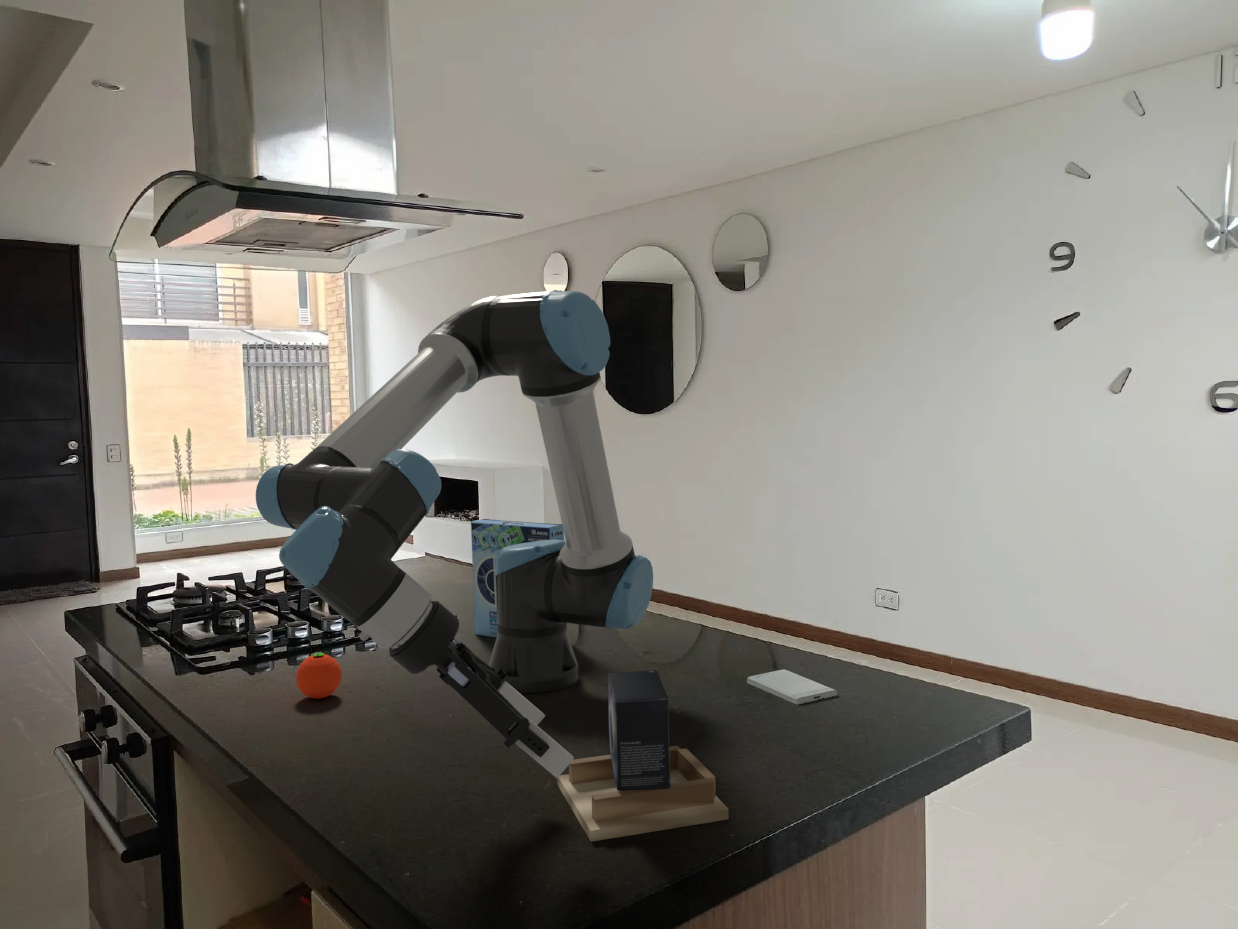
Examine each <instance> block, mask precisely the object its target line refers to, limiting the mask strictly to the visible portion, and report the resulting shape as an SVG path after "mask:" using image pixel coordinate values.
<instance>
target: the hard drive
mask: <svg viewBox="0 0 1238 929" xmlns="http://www.w3.org/2000/svg"><path fill="white" fill-rule="evenodd" d="M746 684H749V685H751V686H753V687H755V688H757V689H760V690H761V691H764V692H767V693H768V694H771V695H774V696H776V697H778V698H780V699H782V698H783V699H782V700H785V701H787V702H790V703H792V704H794V705H801V704H806V703H811V702H815V701H818V699H820V700H823V699H822V698H824V699H828V698H832V696H833V697H836V695H837V696H838V691H837V690H836V689H834V688H832V687H828V686H826V685H823V684H822V683H819V682H816V681H814V680H812V679H810V678H806V677H804V676H801V675H800V674H797V673H795V672H792V671H789V670H787V669H778V670H774V671H770V672H764V673H758V674H756V675H751V676H748V677H747V678H746ZM805 702H806V703H805Z"/></svg>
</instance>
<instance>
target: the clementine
mask: <svg viewBox="0 0 1238 929" xmlns="http://www.w3.org/2000/svg"><path fill="white" fill-rule="evenodd" d="M295 675H296V676H295V679H296V686H297V687H298V689H299V691H300V692H301V693H302V694H303V695H304V696H306V697H308V698H310V699H318V700H319V699H323V698H327V697H329V696H331V695H332V694H333V693H335V692H336V690H337V689H338V688H339V687H340V684H341V681H342V676H343V674H342V667H341V666H340V664H339V662H338V661H337V660H336V659H335V657H332V656H331V655H329V654H326V653H324V652H318V653H316V652H315V653H314V654H312V655H310V656H308V657H307V658H305V659H303V661H302V662H301V663H300V664H299V666H298V668H297V670H296V674H295Z"/></svg>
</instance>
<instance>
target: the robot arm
mask: <svg viewBox="0 0 1238 929" xmlns="http://www.w3.org/2000/svg"><path fill="white" fill-rule="evenodd" d="M605 317H606V316H605V315H604V313H603V311H602V309H601V307H600V306H599V305H598V304H597V302H596V301H595V300H594V299H592V298H591V297H590V296H589V295H588V294H586V293H584V292H581V291H576V290H571V291H570V290H568V291H565V290H564V291H563V290H557V289H555V290H546V291H536V292H524V293H517V294H516V293H515V294H498V295H497V294H496V295H491V296H488V297H484V298H483V297H482V298H481V299H479V300H476V301H474V302H471V303H470V304H468V305H466V306H465V307H463V308H461V309H459V310H458V311H457V312H455V313H453V314H452V315H450V316H449V317H447V318H446V319H445V320H443V321H442V322H441V323H440V324H438V325H437V326H436V327H435V328H433V330H431V331H430V332H429V333H428V334H427V335H425V337H423V339H422V340H421V341H420V342H419V345H418V348H417V354H416V355H415V356H413V357H412V358H411V359H410V360H409V361H408V362H407V363H406V364H405V365H404V366H402V367H401V369H400V370H399V371H398V372H396V373H395V374H394V375H393V376H392V377H391V378H390V379H389V380H388V381H387V382H386V383H385V384H383V385H382V386H381V387H380V388H379V389H378V390H377V391H376V392H374V393H373V394H372V395H371V397H369V398H368V399H367V400H366V401H365V402H363V404H362V405H361V406H359V407H358V408H357V409H356V410H355V411H354V412H353V413H352V414H351V415H349V417H348V418H347V419H346V420H344V421H343V422H342V423H341V424H340V425H339V426H338V427H336V428H335V429H334V431H332V432H331V433H330V434H328V436H327V437H326V438H324V440H322V441H321V442H320V443H319V444H318V445H317V446H316V447H315V448H314V449H313V450H311V451H310V452H309V453H308V454H307V455H306V456H304V457H303V458H302V459H301V460H300V461H299V462H298V463H296V464H293V463H290V462H289V463H284V464H281V465H280V464H278V465H275V466H272V467H270V468H268V469H267V470H266V471H264V473H263V474H262V475H261V477H260V479H259V480H258V482H257V485H256V489H255V503H256V504H255V505H256V507H257V510H258V511H259V514H260V515H261V517H262V518H263V519H264V520H265V521H267V523H269V524H270V525H274V526H276V527H281V528H286V529H291V530H295V531H294V532H293V533H292V534H291V535H290V536H289V537H288V538H287V540H286V541H285V542H284V543H283V544H282V546H281V548H280V549H279V554H278V559H279V561H280V563H281V564H282V565H283V566H284V567H285V569H287V570H288V572H289V573H290V574H291V575H293V577H295V579H297V580H298V581H299V583H301V584H302V586H303V587H304V588H305V589H306V590H308V591H309V590H310V591H311V592H312V593H314V594H315V595H316V596H317V597H319V598H320V599H321V600H322V601H323V602H325V603H326V604H327V605H328V606H330V607H331V608H332V609H333V610H335V611H336V612H337V613H338V614H339V615H341V616H342V617H343V618H344V619H345V620H347V621H348V622H349V623H350V624H351V625H353V626H354V627H355V628H357V629H358V630H359V631H361V632H360V634H359V635H358V637H359V638H360V640H361V641H366V640H367V641H368V639H369V638H371V640H372V642H373V643H375V644H376V645H377V646H378V647H379V648H381V649H382V650H388V649H389V650H388V652H389V657H391V658H392V659H393V660H394V661H395V662H397V664H399V665H400V666H401V667H403V668H404V669H405V670H406V671H407V672H408V673H410V674H411V675H417V674H420V673H423V672H425V671H426V670H427V669H428V667H431V666H436V667H437V668H436V671H437V673H439V676H438V677H439V678H440V679H441V680H442V681H443V682H444V683H445V684H446V685H448V686H449V687H451V688H452V689H453V690H454V691H455V692H457V693H458V694H459V695H460V696H461V697H462V698H463V699H464V700H465V701H466V702H467V703H468V704H469V705H470V706H471V707H472V708H474V709H475V710H476V712H478V713H479V714H480V715H481V716H482V717H483V718H484V719H485V720H486V721H487V722H488V723H489V724H490V725H491V726H492V727H493V728H494V729H495V730H496V731H498V732H499V734H501V736H503V737H504V738H505V741H504V742H503V744H504V745H505V746H506V747H507V748H508V749H510V748H511V747H512V746H513V745H516V746H518V747H519V748H520V749H521V750H522V751H524V752H525V753H526V754H527V755H528V756H530V757H531V758H532V759H533V760H534V761H535V762H537V764H539V765H540V766H541V767H543V768H544V769H545V770H547V772H548V773H550V774H551V775H552V776H553V777H555V779H558V777H559V776H560V775H562V773H563V772H564V771H565V770H566V769H567V768H568V767H569V764H570V763H571V762H572V761H573V760H575V757H574V756H573V754H571V753H570V752H569V751H567V750H566V748H564V747H563V746H562V745H561V744H559V743H558V742H557V741H556V740H555V739H553V738H552V737H551V736H550V735H549V734H548V733H547V732H545V731H544V730H543V729H542V728H541V727H540V726H538V725H539V724H540V723H541V722H542V720H543V719H544V718H545V717H546V715H545V714H544V712H542V711H541V710H540V709H539V708H538V707H537V706H535V705H534V704H533V703H532V702H530V700H528V699H527V698H526V697H525V696H523V695H522V694H538V693H539V694H540V693H548V692H553V691H554V692H555V691H558V690H563V689H565V688H568V687H570V686H572V685H573V684H576V682H578V681H579V664H578V660H577V658H576V655H575V652H574V649H573V646H572V643H571V640H570V637H569V635H568V624H574V625H581V626H589V627H599V628H606V629H607V630H612V629H619V630H629V629H632V628H634V627H636V626H637V625H638V624H639V623H640V622H641V621H642V619H643V618H644V616H645V614H646V612H647V609H648V607H649V604H650V602H651V601H650V600H651V597H652V593H653V589H654V588H653V587H654V570H653V565H652V563H651V561H650V560H649V559H648V558H647V557H646V556H643V555H640V554H639V555H636V554H635V549H634V544H633V541H632V538H631V537H630V536H629V535H628V534H627V533H624V532H623V531H621V527H620V523H619V518H618V513H617V512H618V511H617V508H616V502H615V498H614V492H613V487H612V483H611V478H610V477H611V476H610V471H609V468H608V467H609V466H608V461H607V457H606V452H605V446H604V441H603V435H602V431H601V426H600V422H599V421H600V420H599V416H598V410H597V405H596V400H595V395H594V390H595V388H596V386H597V385H598V384H599V382H600V381H601V373H600V372H602V371H603V370H604V368H605V367H606V366H607V363H608V361H609V359H610V354H611V353H610V350H609V348H610V346H611V336H610V331H609V325H608V322H607V320H606V318H605ZM499 376H500V377H501V376H504V377H505V376H510V377H511V376H513V377H514V376H515V377H516V376H517V377H518V380H519V384H520V390H521V394H522V395H523V397H526V398H527V399H528V400H531V401H532V402H534V404H535V408H536V412H537V418H538V422H539V426H540V430H541V435H542V440H543V444H544V449H545V453H546V458H547V461H548V465H549V470H550V476H551V480H552V485H553V488H554V492H555V498H556V502H557V507H558V511H559V515H560V521H561V524H562V525H563V530H564V540H558V539H557V540H542V541H534V542H527V543H521V544H516V545H511V546H508V547H505V548H503V549H501V550H500V551H499V552H498V554H497V557H496V573H495V576H496V603H497V638H496V639H495V643H494V645H493V650H492V653H491V656H490V660H489V663H488V664H487V662H485V661H484V660H482V659H481V658H480V657H478V656H477V655H476V654H475V653H474V652H473V651H471V649H470V648H469V647H468V646H466V644H465V643H463V642H458V640H456V639H455V637H456V635H457V633H458V631H459V628H460V621H459V619H458V617H457V616H455V614H453V613H452V611H450V610H449V609H447V608H446V607H445V606H444V605H443V604H441V603H440V602H439V601H438V600H432V594H431V593H430V592H429V591H428V590H426V589H425V588H424V587H423V586H422V585H421V584H420V583H419V582H417V581H416V580H415V579H414V578H413V577H411V575H410V574H408V573H407V572H406V571H404V570H403V569H401V568H400V566H398V565H397V564H396V563H395V562H394V561H393V560H392V558H394V557H395V555H396V554H397V553H398V551H399V550H400V549H401V547H402V546H403V544H404V543H405V542H406V541H407V539H408V538H409V537H410V535H411V534H412V533H413V532H414V530H415V529H416V528H417V527H418V526H419V524H420V523H421V521H422V520H424V518H425V516H426V517H427V516H428V514H429V511H430V509H431V508H432V506H433V505H434V503H435V501H436V500H437V498H438V496H439V495H440V493H441V490H442V479H441V477H440V475H439V472H437V469H436V467H435V466H434V465H433V463H431V461H430V460H429V459H427V458H426V457H425V456H424V455H422V454H420V453H418V452H416V451H413V450H411V449H405V448H404V447H405V446H406V445H407V444H408V443H409V442H410V441H411V440H412V439H413V438H414V437H415V436H416V435H417V434H418V433H419V432H420V430H421V429H423V428H424V426H426V425H427V424H428V422H430V420H431V419H433V418H434V416H435V415H437V413H438V412H439V411H440V410H441V409H443V407H445V405H446V404H447V403H448V402H449V401H450V400H451V399H452V398H453V397H454V396H455V395H456V394H458V393H459V394H460V393H465V392H467V391H469V390H471V389H472V388H473V387H474V386H475V385H476V384H477V383H478V382H480V381H482V380H484V379H488V378H492V377H499Z"/></svg>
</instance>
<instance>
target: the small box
mask: <svg viewBox="0 0 1238 929" xmlns="http://www.w3.org/2000/svg"><path fill="white" fill-rule="evenodd" d="M607 678H608V679H607V682H608V683H607V696H608V697H607V701H608V702H607V703H608V704H607V706H608V707H607V708H608V713H607V714H608V738H609V739H608V741H609V753H610V754H609V755H611V760H612V766H613V771H614V777H615V782H616V787H617V790H618V791H626V790H645V789H662V788H671V778H670V757H669V756H670V754H669V747H670V731H669V730H670V728H669V726H670V723H669V721H670V720H669V718H670V717H669V713H670V712H669V711H670V697H669V696H668V693H667V690H666V688H665V686H664V683H663V681H662V679H661V677H660V674H659V671H658V669H653V670H652V669H651V670H635V671H634V670H633V671H621V672H608V674H607Z"/></svg>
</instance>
